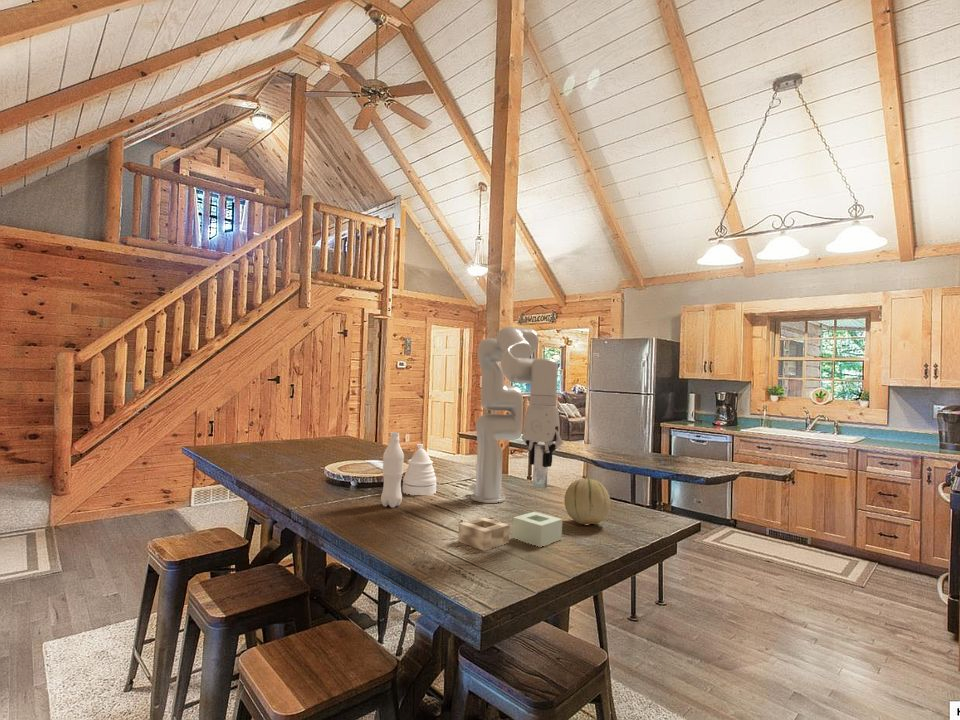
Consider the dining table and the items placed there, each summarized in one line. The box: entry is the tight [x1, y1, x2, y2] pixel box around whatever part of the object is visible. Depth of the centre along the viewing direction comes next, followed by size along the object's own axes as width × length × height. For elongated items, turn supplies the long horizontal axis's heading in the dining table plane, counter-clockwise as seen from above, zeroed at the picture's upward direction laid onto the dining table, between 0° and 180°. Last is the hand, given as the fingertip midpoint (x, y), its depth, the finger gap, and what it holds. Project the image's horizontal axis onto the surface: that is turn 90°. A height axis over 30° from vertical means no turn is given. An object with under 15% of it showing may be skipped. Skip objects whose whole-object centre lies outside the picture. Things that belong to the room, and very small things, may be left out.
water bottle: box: [380, 431, 405, 508], centre depth 177 cm, size 7×7×25 cm
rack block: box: [512, 511, 563, 548], centre depth 147 cm, size 10×10×6 cm
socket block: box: [457, 516, 511, 552], centre depth 143 cm, size 10×10×5 cm
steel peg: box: [532, 443, 548, 489], centre depth 148 cm, size 4×4×12 cm
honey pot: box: [402, 443, 437, 496], centre depth 199 cm, size 13×13×18 cm
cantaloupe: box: [563, 475, 611, 525], centre depth 165 cm, size 15×15×15 cm
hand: (540, 464), depth 148 cm, fingers closed on steel peg, 4 cm apart
